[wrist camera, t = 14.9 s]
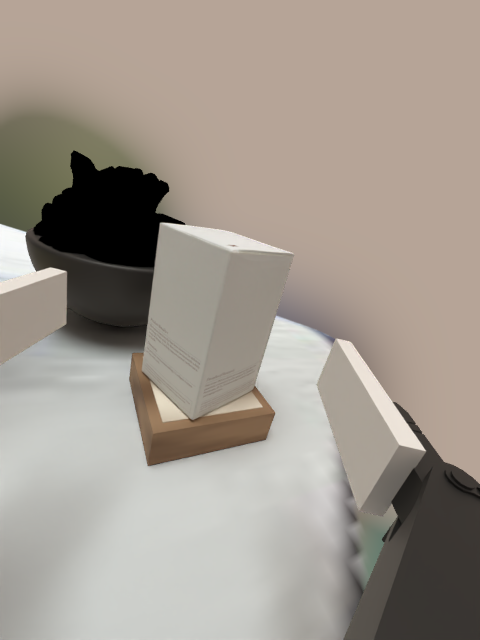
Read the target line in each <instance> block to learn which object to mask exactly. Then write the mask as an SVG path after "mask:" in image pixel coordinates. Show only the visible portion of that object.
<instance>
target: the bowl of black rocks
mask: <svg viewBox="0 0 480 640" xmlns="http://www.w3.org/2000/svg"><path fill="white" fill-rule="evenodd" d="M70 167H71V169H72V173H73V185H72V188H67V189H65V190H63V191H62V194H60V195H58V196H55V197H54V199H53V201H52V204H51V203H46V204H45V205H44V206H43V209H42V221H41V222H39V223H38V224H37V225H36V226H35V227H34V228H31V229H30V230H28V231H27V233H26V236H25V237H26V244H27V249H28V252H29V256H30V259H31V261H32V264H33V266H34V268H35V270H36V272H37V271H40V270H44V269H47V268H50V267H51V268H55V269H59V270H63V271H67V307H68V308H69V309H71V310H73V311H74V312H76V313H77V314H79V315H81V316H83V317H85V318H88V319H90V320H93V321H96V322H99V323H103V324H107V325H113V326H139V325H145V324H148V316H149V308H150V300H151V292H152V284H153V276H154V267H155V259H156V251H157V243H158V235H159V227H160V223H171V224H180V225H185V223H183V222H181V221H179V220H176V219H174V218H172V217H169V216H167V215H164V214H157V213H155V211H156V208H157V206H158V204H159V203H160V201H161V200H162V198H163V197H164V195H166V194H167V193H168V192H169V186H168V184H167V183H166V182H164V181H162V180H160V181H159V180H158V178H157V176H156V175H155V174H153V173H148V174H145V175H143V172H142V170H141V169H138V168H135V169H133V168H128V167H121V166H118V167H117V168H114V167H112V166H111V167H108V168H106V169H103V170H101V171H98V170H97V169H96V168H95V166H94V164H93V163H92V161H91V160H90V159H89V158H88V157H86V156H84V155H82V154H81V153H78V152H76V151H73V152H72V153H71V165H70Z"/></svg>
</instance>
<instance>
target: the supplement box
mask: <svg viewBox="0 0 480 640" xmlns="http://www.w3.org/2000/svg"><path fill="white" fill-rule="evenodd" d="M293 257H294V254H293V253H291V252H288V251H285V250H281V249H279V248H276V247H273V246H270V245H267V244H264V243H262V242H259V241H256V240H253V239H250V238H247V237H244V236H241V235H238V234H235V233H233V232H230V231H224V230H218V229H212V228H204V227H196V226H188V225H180V224H171V223H160V227H159V235H158V243H157V251H156V259H155V267H154V276H153V284H152V292H151V300H150V308H149V316H148V324H147V333H146V340H145V348H144V356H143V364H142V372H143V373H144V374H146V375H147V376H148V377H149V378H150V379H151V380H152V381H153V382H154V383H155V384H156V385H157V386H158V387H159V388H160V389H161V390H162V391H163V392H164V393H165V394H166V395H167V396H168V397H169V398H170V399H171V400H172V401H173V402H174V403H175V404H176V405H177V406H178V407H179V408H180V409H181V410H182V411H183V412H185V413H186V414H187V415H188V417H189V418H191V419H192V420H194V419H196V418H199V417H200V416H203V415H205V414H207V413H209V412H211V411H213V410H214V409H217V408H219V407H221V406H223V405H225V404H227V403H229V402H231V401H233V400H234V399H237V398H239V397H240V396H242V395H244V394H246V393H248V392H250V391H251V390H253V389H254V386H255V382H256V379H257V375H258V372H259V369H260V366H261V362H262V359H263V356H264V353H265V349H266V346H267V343H268V339H269V336H270V333H271V329H272V326H273V323H274V320H275V316H276V313H277V310H278V307H279V303H280V300H281V296H282V293H283V290H284V286H285V283H286V280H287V277H288V273H289V270H290V267H291V264H292V260H293Z"/></svg>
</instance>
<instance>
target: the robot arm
mask: <svg viewBox="0 0 480 640" xmlns="http://www.w3.org/2000/svg"><path fill="white" fill-rule="evenodd" d="M66 317H67V271H63V270H59V269H55V268H51V267H50V268H47V269H44V270H40V271H37V272H34V273H30V274H27V275H23V276H20V277H17V278H13V279H10V280H7V281H3V282H0V365H1V364H3V363H4V362H6V361H8V360H9V359H11V358H13V357H14V356H16V355H17V354H19V353H21V352H22V351H24V350H25V349H27V348H29V347H30V346H32V345H33V344H35V343H37V342H38V341H40V340H42V339H43V338H45V337H46V336H48V335H50V334H51V333H53V332H54V331H56V330H58V329H59V328H61V327H63V326H64V325H66ZM317 387H318V390H319V393H320V396H321V399H322V402H323V405H324V408H325V411H326V414H327V417H328V420H329V423H330V426H331V429H332V432H333V435H334V438H335V441H336V444H337V447H338V450H339V453H340V456H341V459H342V462H343V465H344V468H345V471H346V474H347V477H348V480H349V483H350V486H351V489H352V492H353V495H354V498H355V501H356V504H357V507H358V510H359V511H360V512H364V513H369V514H373V515H378V516H383V515H384V514H385V513H386V511H387V510H388V508H389V507H390V505H391V504H393V507H394V509H395V511H396V513H397V515H398V517H397V518H396V520H395V521H394V523H393V524H392V526H391V527H390V528H389V530H388V531H387V533H386V534H385V535H384V537H383V538H382V541H383V542H385V543H384V545H383V548H382V550H381V552H380V555H379V557H378V559H377V562H376V564H375V566H374V569H373V571H372V573H371V576H370V578H369V581H368V583H367V585H366V588H365V590H364V592H363V595H362V597H361V599H360V602H359V604H358V607H357V609H356V611H355V614H354V616H353V618H352V621H351V623H350V625H349V628H348V630H347V632H346V635H345V637H344V640H480V484H479V483H478V482H477V481H476V480H474V478H473V477H471V476H470V475H468V474H467V473H466V472H464V471H463V470H461V469H459V468H458V467H456V466H454V465H451V464H448V463H445V462H443V460H442V459H441V457H440V456H439V455H438V453H437V452H436V451H435V449H434V448H433V447H432V445H431V444H430V442H429V441H428V440H427V438H426V437H425V435H424V434H422V431H421V430H420V429H419V427H418V426H417V425H415V422H414V421H413V419H412V418H411V416H410V415H409V414H408V412H406V411H405V410H404V409H403V408H402V407H401V406H400V405H398V404H397V403H395V402H392V401H391V400H390V398H389V397H388V395H387V394H386V393H385V391H384V389H383V388H382V386H381V385H380V384H379V382H378V381H377V379H376V378H375V376H374V375H373V373H372V372H371V370H370V369H369V368H368V366H367V365H366V363H365V362H364V360H363V359H362V357H361V356H360V355H359V353H358V352H357V350H356V349H355V347H354V346H353V344H352V343H351V342H348V341H344V340H340V339H335V342H334V344H333V347H332V349H331V351H330V354H329V356H328V359H327V361H326V363H325V366H324V368H323V371H322V373H321V375H320V378H319V380H318V383H317Z"/></svg>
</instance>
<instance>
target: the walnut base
mask: <svg viewBox="0 0 480 640" xmlns="http://www.w3.org/2000/svg"><path fill="white" fill-rule="evenodd" d="M143 356H144V353H132V361H131V369H130V378H129V380H130V384H131V389H132V394H133V398H134V403H135V408H136V412H137V417H138V422H139V426H140V431H141V436H142V440H143V445H144V450H145V454H146V459H147V464H148V466H149V465H154V464H158V463H163V462H167V461H172V460H176V459H181V458H185V457H190V456H194V455H198V454H203V453H207V452H212V451H216V450H221V449H225V448H230V447H234V446H239V445H243V444H248V443H252V442H257V441H261V440H266V437H267V434H268V432H269V429H270V426H271V423H272V421H273V418H274V415H275V412H274V410H273V409H272V408H271V406H270V405H269V404H268V403H267V401H266V400H265V399H264V397H263V396H262V395H261V393H260V392H259V391H258V389H257V388H256V387H255V386H254V389H253V390H251V391H250V392H248V393H246V394H244V395H242V396H240V397H239V398H237V399H234V400H233V401H231V402H229V403H227V404H225V405H223V406H221V407H219V408H217V409H214V410H213V411H211V412H209V413H207V414H205V415H203V416H200V417H199V418H196V419H194V420H192V419H191V418H189V417H188V415H187V414H186V413H185V412H183V411H182V410H181V409H180V408H179V407H178V406H177V405H176V404H175V403H174V402H173V401H172V400H171V399H170V398H169V397H168V396H167V395H166V394H165V393H164V392H163V391H162V390H161V389H160V388H159V387H158V386H157V385H156V384H155V383H154V382H153V381H152V380H151V379H150V378H149V377H148V376H147V375H146V374H144V373H143V372H142V364H143Z"/></svg>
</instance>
